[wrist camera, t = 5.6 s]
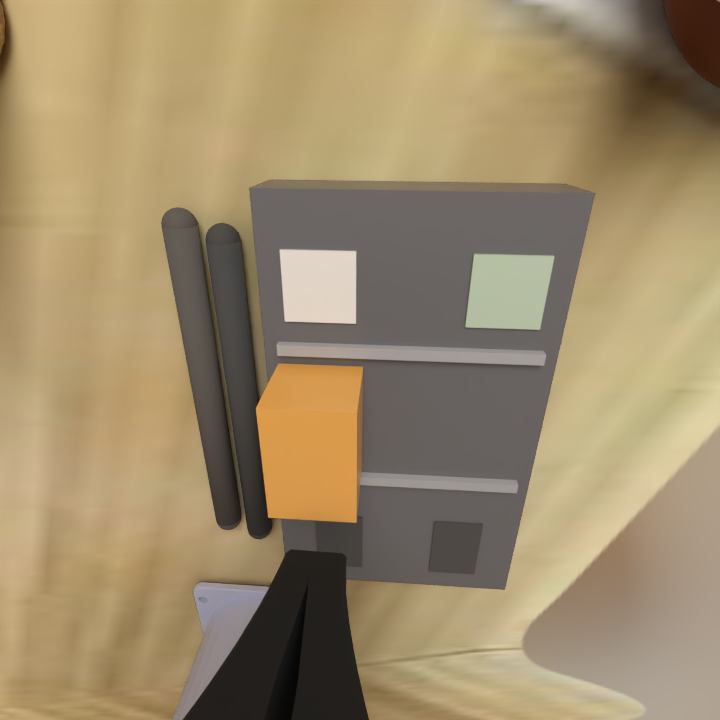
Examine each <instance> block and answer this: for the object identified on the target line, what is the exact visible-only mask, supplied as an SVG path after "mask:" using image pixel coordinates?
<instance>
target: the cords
mask: <svg viewBox="0 0 720 720" xmlns="http://www.w3.org/2000/svg"><path fill="white" fill-rule="evenodd" d="M161 224H162V231H163V236H164V242H165V247H166V252H167V258H168V263H169V268H170V274H171V279H172V285H173V290H174V295H175V301H176V306H177V311H178V317H179V322H180V328H181V333H182V338H183V344H184V349H185V354H186V360H187V365H188V371H189V376H190V381H191V387H192V392H193V397H194V403H195V408H196V414H197V419H198V424H199V430H200V435H201V441H202V446H203V451H204V457H205V462H206V467H207V473H208V478H209V484H210V489H211V494H212V500H213V505H214V510H215V516H216V521H217V524H218V525H219V527H221V528H222V529H225V530H231V529H234V528H235V527H236V526H238V524H239V523H240V521H241V508H240V502H239V495H238V488H237V482H236V475H235V468H234V462H233V455H232V449H231V442H230V435H229V429H228V422H227V415H226V409H225V402H224V395H223V389H222V382H221V376H220V369H219V362H218V356H217V349H216V342H215V336H214V329H213V322H212V316H211V309H210V302H209V296H208V289H207V283H206V276H205V269H204V263H203V256H202V249H201V243H200V236H199V229H198V224H197V220H196V218H195V217H194V215H193V214H192V213H191V212H189V211H188V210H186V209H183V208H173V209H170V210H168V211H167V212H166V213H165V214H164V216H163V218H162V223H161ZM206 247H207V254H208V261H209V267H210V274H211V281H212V288H213V295H214V302H215V309H216V316H217V323H218V329H219V336H220V343H221V350H222V357H223V364H224V371H225V378H226V384H227V391H228V398H229V405H230V412H231V419H232V426H233V433H234V440H235V446H236V453H237V460H238V467H239V474H240V481H241V488H242V495H243V502H244V508H245V515H246V522H247V529H248V532H249V534H250V535H251V536H252V537H253V538H255V539H262V538H265V537H266V536H268V535H269V533H270V532H271V529H272V519H271V518H268V510H267V502H266V493H265V484H264V475H263V467H262V458H261V449H260V441H259V432H258V423H257V415H256V407H257V405H258V403H259V401H258V392H257V383H256V374H255V365H254V356H253V347H252V338H251V329H250V320H249V311H248V302H247V293H246V284H245V275H244V266H243V257H242V248H241V239H240V236H239V233H238V232H237V230H236V229H235V228H234V227H232V226H231V225H228V224H225V223H219V224H215V225H214V226H212V227H211V228H210V229H209V230H208V232H207V234H206Z"/></svg>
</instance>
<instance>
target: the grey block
mask: <svg viewBox="0 0 720 720" xmlns="http://www.w3.org/2000/svg"><path fill="white" fill-rule="evenodd" d="M249 190H250V201H251V211H252V221H253V232H254V242H255V252H256V262H257V273H258V283H259V293H260V304H261V314H262V324H263V334H264V345H265V355H266V365H267V376H268V383H269V381H270V379H271V377H272V375H273V373H274V371H275V369H276V367H277V365H278V363H281V364H307V365H333V366H360V367H363V428H362V472H361V482H360V492H359V502H358V512H357V523H351V522H334V521H317V520H300V519H282V518H281V520H282V530H283V540H284V550H285V554H286V552H288V551H289V550H291V549H293V550H306V551H320V552H334V553H342V554H344V555H345V556H346V557H347V562H346V579H350V580H365V581H380V582H396V583H411V584H426V585H441V586H457V587H472V588H487V589H503V590H505V586H506V582H507V578H508V573H509V569H510V564H511V560H512V556H513V551H514V547H515V542H516V538H517V534H518V529H519V525H520V521H521V516H522V512H523V507H524V503H525V499H526V494H527V490H528V485H529V481H530V477H531V472H532V468H533V463H534V459H535V455H536V450H537V446H538V441H539V437H540V433H541V428H542V424H543V420H544V415H545V411H546V406H547V402H548V398H549V393H550V389H551V384H552V380H553V376H554V371H555V367H556V362H557V358H558V354H559V349H560V345H561V340H562V336H563V332H564V327H565V323H566V319H567V314H568V310H569V305H570V301H571V297H572V292H573V288H574V283H575V279H576V275H577V270H578V266H579V261H580V257H581V253H582V248H583V244H584V239H585V235H586V231H587V226H588V222H589V217H590V213H591V209H592V204H593V200H594V196H595V193H593V192H590V191H586V190H583V189H580V188H577V187H574V186H571V185H567V184H536V183H466V182H396V181H326V180H268V181H265V182H263V183H260V184H258V185H255V186H253V187H250V188H249Z"/></svg>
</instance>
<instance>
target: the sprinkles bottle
mask: <svg viewBox="0 0 720 720" xmlns="http://www.w3.org/2000/svg"><path fill="white" fill-rule="evenodd" d="M4 30H5V19H4V14H3V7H2V4H1V2H0V55H1V51H2V46H3V44H4V41H5V35H4Z"/></svg>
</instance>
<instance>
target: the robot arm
mask: <svg viewBox="0 0 720 720" xmlns="http://www.w3.org/2000/svg"><path fill="white" fill-rule="evenodd" d="M346 562H347V557H346V556H345V555H344V554H342V553H334V552H320V551H306V550H293V549H291V550H289V551H288V552H286V554H285V556H284V559H283V561H282V563H281V565H280V567H279V569H278V571H277V573H276V575H275V577H274V579H273V581H272V583H271V585H270V587H267V586H252V585H237V584H222V583H208V582H200V583H197V584H196V585H195V588H194V590H193V594H194V598H195V602H196V606H197V610H198V615H199V619H200V623H201V627H202V631H203V635H204V636H203V639H202V641H201V644H200V647H199V649H198V652H197V655H196V657H195V660H194V663H193V665H192V668H191V671H190V673H189V676H188V678H187V681H186V684H185V686H184V689H183V692H182V694H181V697H180V700H179V702H178V705H177V708H176V710H175V713H174V716H173V718H172V720H369V718H368V714H367V710H366V706H365V702H364V697H363V693H362V688H361V684H360V679H359V675H358V670H357V665H356V660H355V655H354V649H353V643H352V637H351V631H350V625H349V617H348V609H347V598H346Z"/></svg>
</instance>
